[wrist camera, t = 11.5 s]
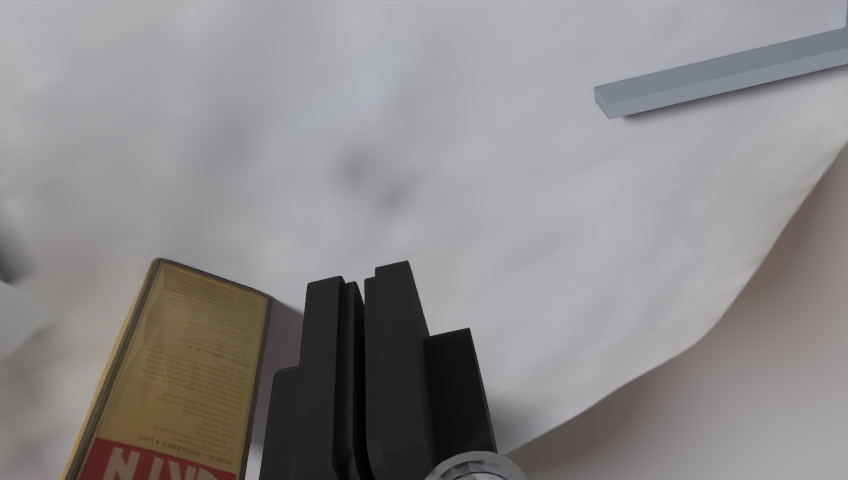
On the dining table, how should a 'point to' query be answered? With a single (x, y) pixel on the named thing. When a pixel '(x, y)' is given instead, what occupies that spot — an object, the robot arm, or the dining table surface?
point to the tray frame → (724, 74)
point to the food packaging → (177, 383)
